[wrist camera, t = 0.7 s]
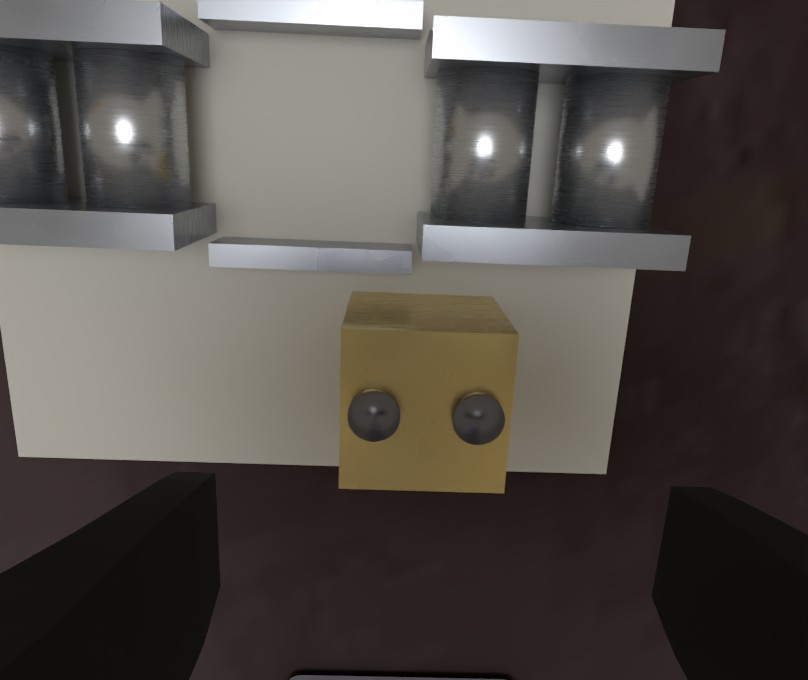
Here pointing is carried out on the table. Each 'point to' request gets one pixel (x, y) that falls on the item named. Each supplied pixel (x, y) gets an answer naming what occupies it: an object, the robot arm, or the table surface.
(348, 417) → the tan knob cube
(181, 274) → the mat
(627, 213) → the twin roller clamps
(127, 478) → the table surface
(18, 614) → the robot arm
